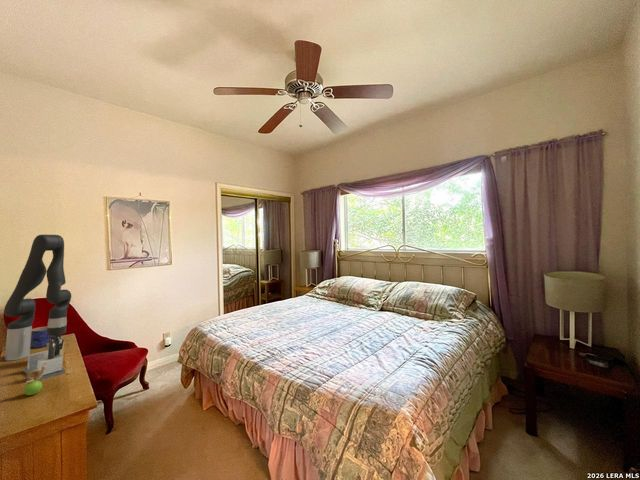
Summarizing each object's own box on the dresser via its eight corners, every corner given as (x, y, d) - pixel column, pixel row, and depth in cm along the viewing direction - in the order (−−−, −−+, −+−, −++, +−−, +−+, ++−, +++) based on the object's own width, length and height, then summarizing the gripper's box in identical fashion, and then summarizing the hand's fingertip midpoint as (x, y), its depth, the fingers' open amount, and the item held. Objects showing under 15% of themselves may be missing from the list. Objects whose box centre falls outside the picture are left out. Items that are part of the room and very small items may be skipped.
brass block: (45, 361, 140) (47, 343, 141) (60, 357, 146) (61, 340, 146) (48, 363, 138) (49, 344, 139) (63, 359, 144) (64, 341, 144)
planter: (26, 350, 155) (28, 332, 156) (30, 345, 164) (31, 328, 164) (52, 346, 163) (53, 328, 163) (54, 341, 171) (55, 325, 171)
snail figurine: (47, 391, 111) (49, 363, 112) (27, 399, 105) (29, 369, 106) (40, 388, 113) (42, 361, 113) (19, 396, 107) (22, 367, 107)
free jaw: (36, 374, 122) (38, 344, 123) (59, 368, 129) (61, 339, 130) (39, 376, 120) (41, 345, 121) (62, 369, 127) (64, 341, 128)
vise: (23, 372, 128) (24, 355, 128) (51, 364, 137) (52, 348, 137) (36, 381, 119) (37, 362, 120) (64, 372, 128) (66, 355, 128)
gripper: (43, 325, 143) (40, 356, 142) (52, 329, 137) (50, 361, 136) (61, 322, 150) (59, 351, 149) (71, 325, 143) (68, 356, 142)
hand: (54, 356), depth 142 cm, fingers closed on brass block, 4 cm apart
